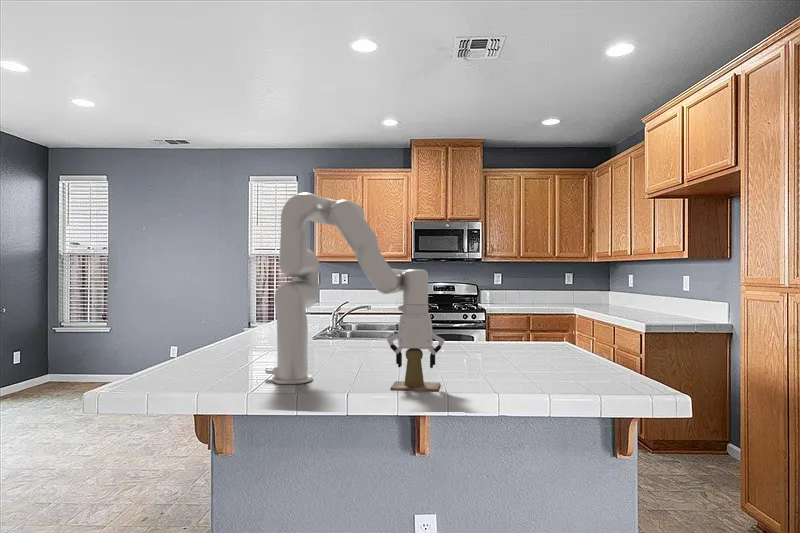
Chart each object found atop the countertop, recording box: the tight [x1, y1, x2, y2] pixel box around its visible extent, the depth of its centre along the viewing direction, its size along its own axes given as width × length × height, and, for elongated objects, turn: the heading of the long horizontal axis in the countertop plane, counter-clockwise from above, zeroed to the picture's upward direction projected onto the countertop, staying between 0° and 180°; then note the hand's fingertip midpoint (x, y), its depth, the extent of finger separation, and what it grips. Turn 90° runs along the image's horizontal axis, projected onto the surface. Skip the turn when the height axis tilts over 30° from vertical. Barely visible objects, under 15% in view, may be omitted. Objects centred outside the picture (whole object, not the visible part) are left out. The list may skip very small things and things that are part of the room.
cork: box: [404, 348, 425, 387], centre depth 160 cm, size 6×6×11 cm
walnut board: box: [390, 380, 441, 392], centre depth 159 cm, size 14×9×1 cm, turn 82°
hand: (415, 366), depth 159 cm, fingers open, 9 cm apart
